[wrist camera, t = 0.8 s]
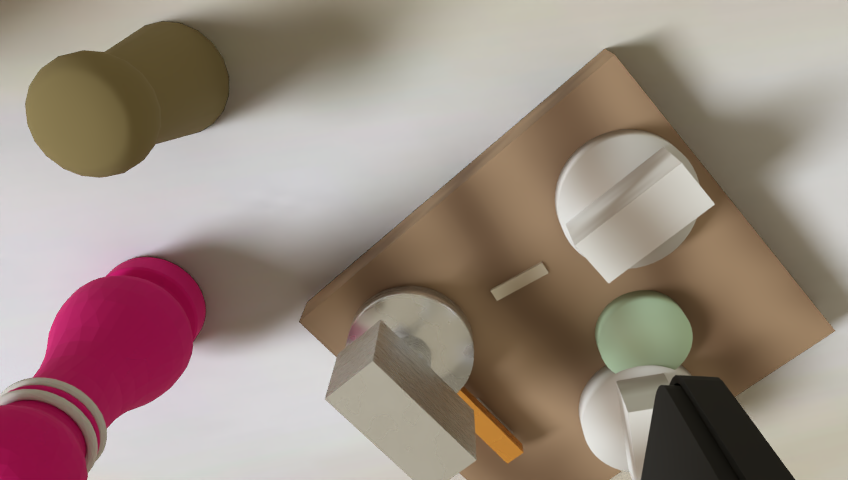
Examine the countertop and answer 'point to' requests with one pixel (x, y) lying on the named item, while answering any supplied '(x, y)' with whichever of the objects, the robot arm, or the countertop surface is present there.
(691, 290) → the plate
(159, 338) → the pepper mill
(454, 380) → the knob
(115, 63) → the cork
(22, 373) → the countertop surface
